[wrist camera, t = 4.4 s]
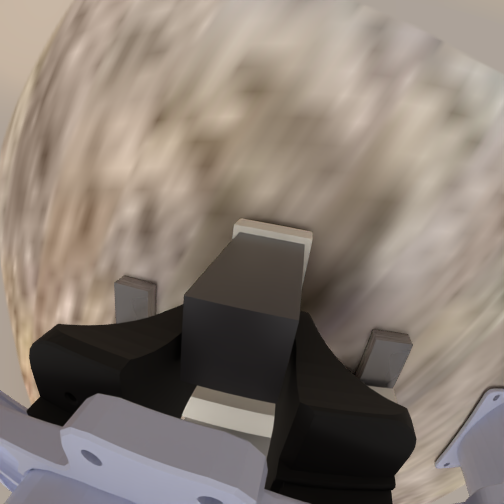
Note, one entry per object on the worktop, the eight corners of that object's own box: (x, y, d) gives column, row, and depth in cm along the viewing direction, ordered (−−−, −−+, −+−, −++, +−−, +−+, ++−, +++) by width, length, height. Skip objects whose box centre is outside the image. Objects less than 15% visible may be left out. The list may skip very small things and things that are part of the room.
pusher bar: (437, 255, 13) (525, 343, 6) (380, 397, 16) (399, 512, 8) (123, 195, 15) (2, 235, 8) (124, 341, 17) (48, 425, 10)
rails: (408, 334, 15) (413, 344, 14) (318, 498, 20) (318, 507, 19) (124, 275, 16) (114, 282, 16) (140, 456, 22) (136, 464, 21)
